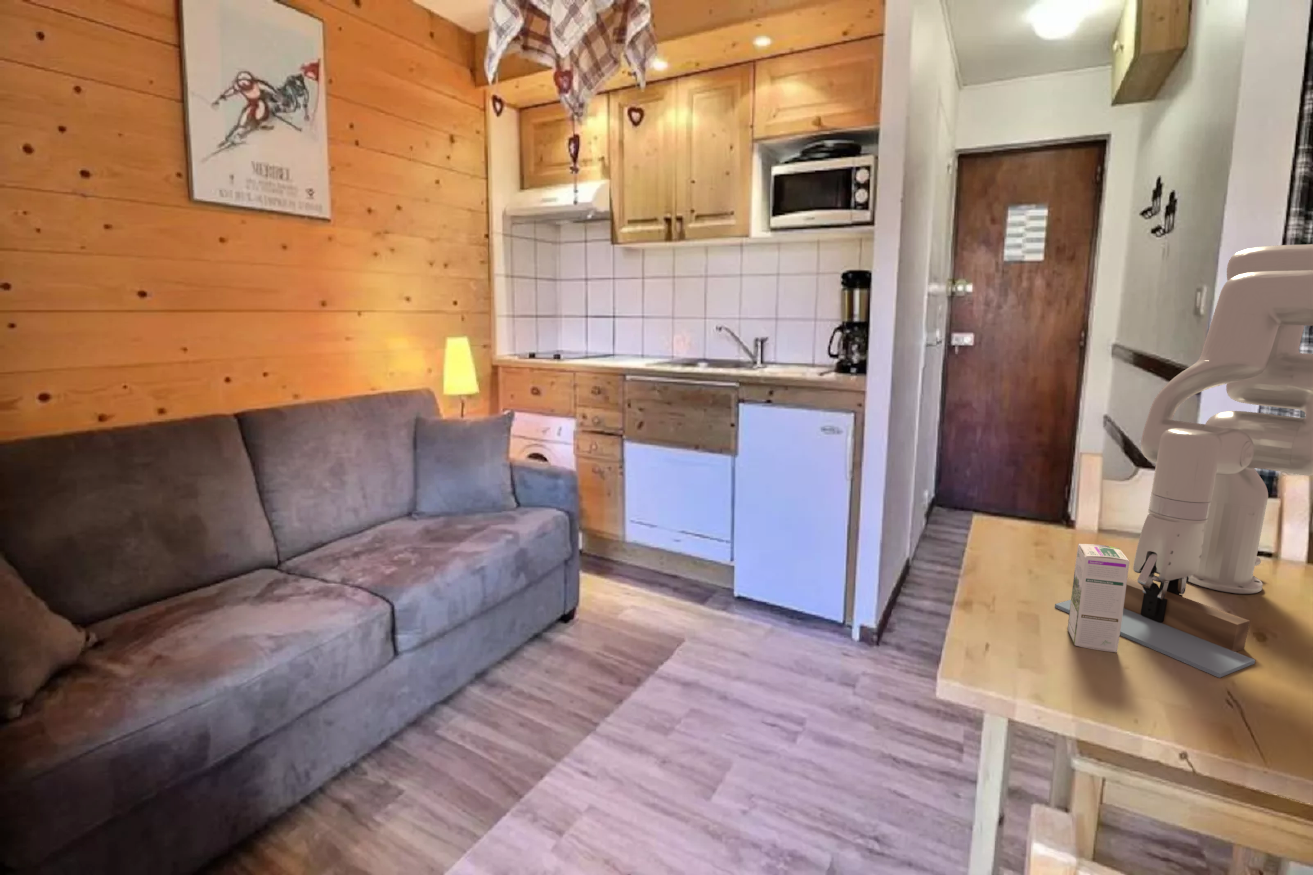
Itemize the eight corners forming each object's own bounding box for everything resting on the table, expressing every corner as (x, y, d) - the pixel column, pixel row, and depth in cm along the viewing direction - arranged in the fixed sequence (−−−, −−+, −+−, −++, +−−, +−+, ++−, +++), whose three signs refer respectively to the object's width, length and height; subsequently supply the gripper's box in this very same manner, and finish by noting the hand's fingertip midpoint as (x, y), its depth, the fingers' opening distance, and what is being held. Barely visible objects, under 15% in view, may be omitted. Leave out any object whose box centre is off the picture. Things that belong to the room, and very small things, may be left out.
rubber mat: (1088, 597, 119) (1089, 594, 119) (1254, 663, 98) (1255, 659, 98) (1054, 607, 115) (1055, 603, 115) (1219, 677, 94) (1220, 673, 94)
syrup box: (1118, 653, 100) (1133, 560, 97) (1072, 646, 102) (1085, 554, 99) (1108, 636, 106) (1122, 546, 103) (1064, 629, 108) (1077, 541, 105)
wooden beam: (1096, 591, 122) (1100, 567, 121) (1244, 648, 102) (1249, 620, 101) (1084, 594, 120) (1088, 570, 119) (1231, 653, 101) (1237, 624, 100)
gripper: (1182, 496, 114) (1164, 600, 118) (1121, 506, 107) (1104, 615, 111) (1235, 509, 108) (1214, 618, 111) (1174, 520, 101) (1153, 636, 104)
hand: (1159, 615), depth 111 cm, fingers closed on wooden beam, 3 cm apart
